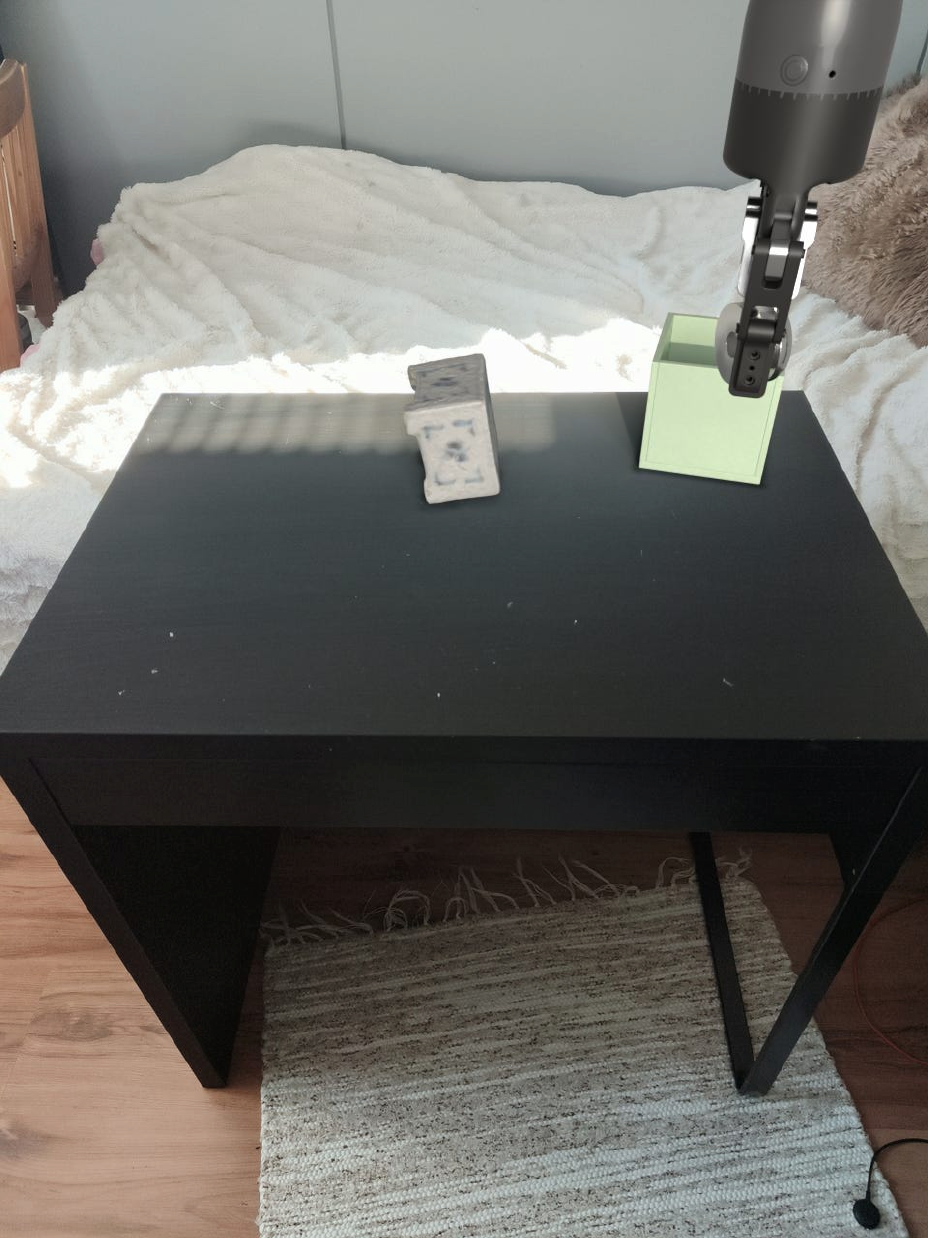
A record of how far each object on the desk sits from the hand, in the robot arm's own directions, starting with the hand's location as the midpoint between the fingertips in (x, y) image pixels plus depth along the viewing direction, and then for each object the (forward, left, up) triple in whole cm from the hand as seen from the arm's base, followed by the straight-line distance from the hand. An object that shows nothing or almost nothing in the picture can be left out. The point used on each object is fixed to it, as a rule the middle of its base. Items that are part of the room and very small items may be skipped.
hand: (748, 371), depth 58 cm
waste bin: (+2, -24, -20) cm, 31 cm away
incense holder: (+24, -12, -20) cm, 34 cm away
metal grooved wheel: (0, 0, -1) cm, 1 cm away
